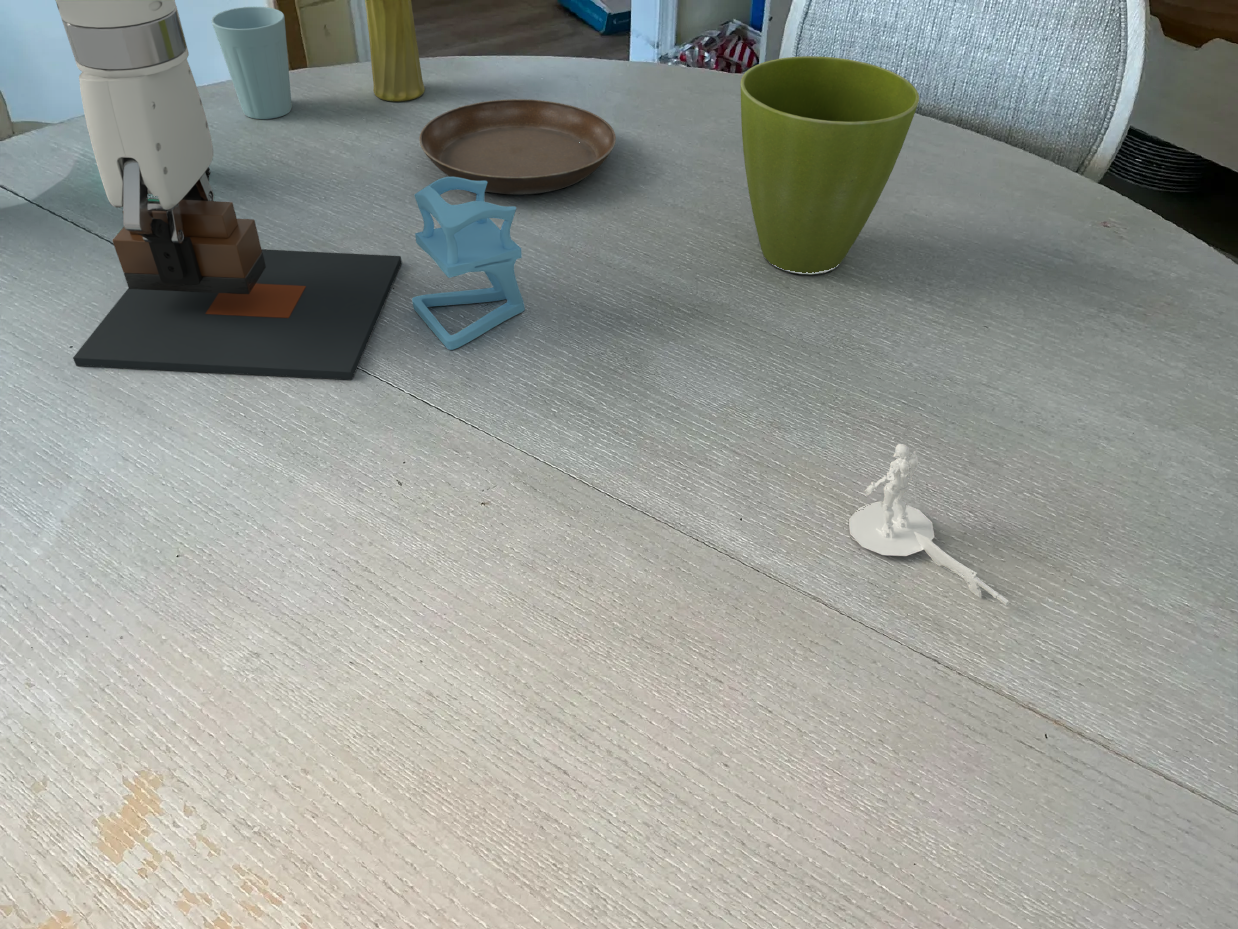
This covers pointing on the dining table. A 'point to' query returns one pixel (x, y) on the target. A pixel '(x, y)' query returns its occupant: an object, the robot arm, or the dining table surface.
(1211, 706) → the dining table surface
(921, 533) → the figurine
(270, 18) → the cup
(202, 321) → the mat
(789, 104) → the flower pot
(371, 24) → the vase
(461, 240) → the chair
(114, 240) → the brush
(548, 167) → the plant saucer
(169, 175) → the robot arm
